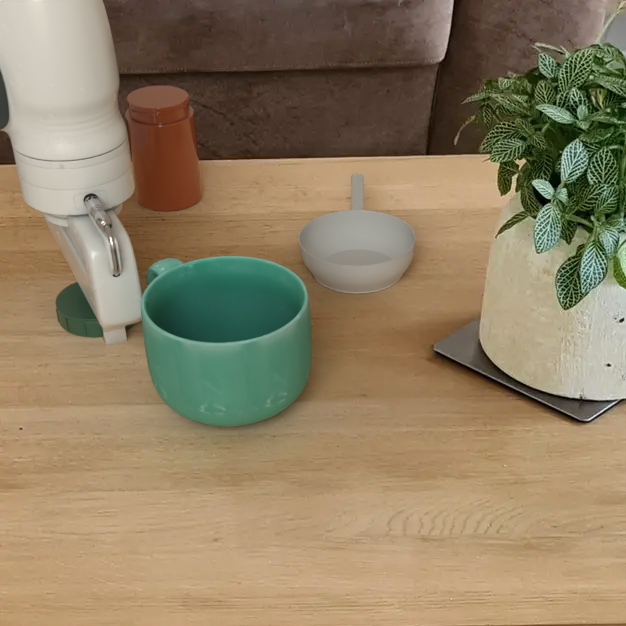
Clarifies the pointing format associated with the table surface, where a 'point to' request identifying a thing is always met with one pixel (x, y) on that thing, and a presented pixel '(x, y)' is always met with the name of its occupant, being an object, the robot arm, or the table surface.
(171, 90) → the jam jar
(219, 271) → the mug
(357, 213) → the small pan
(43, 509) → the table surface
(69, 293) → the jar lid
